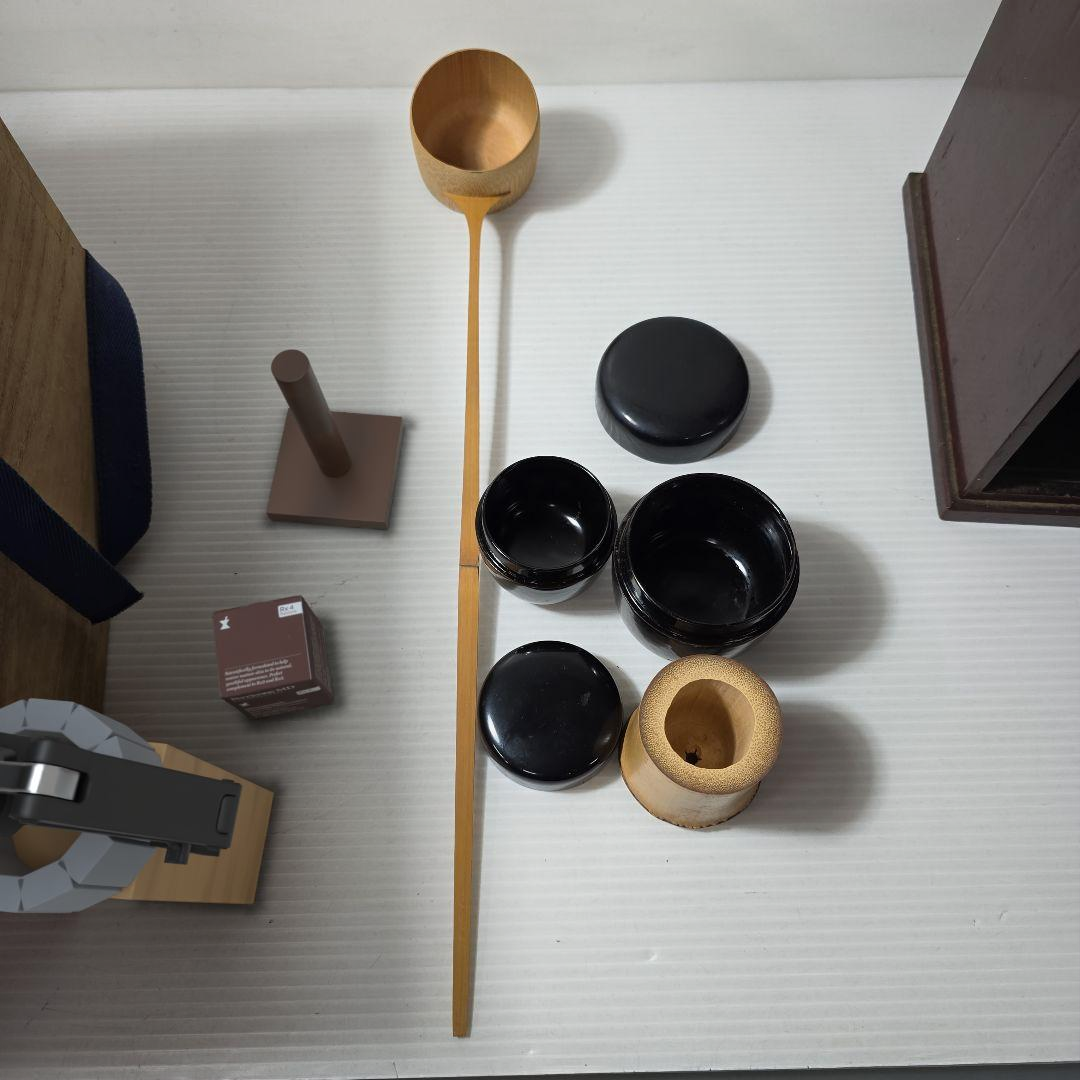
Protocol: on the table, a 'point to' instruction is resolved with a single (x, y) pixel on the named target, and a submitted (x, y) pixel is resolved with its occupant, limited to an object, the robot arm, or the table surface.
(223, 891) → the stand
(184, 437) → the table surface
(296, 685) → the box
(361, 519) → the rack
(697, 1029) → the table surface
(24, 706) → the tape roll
